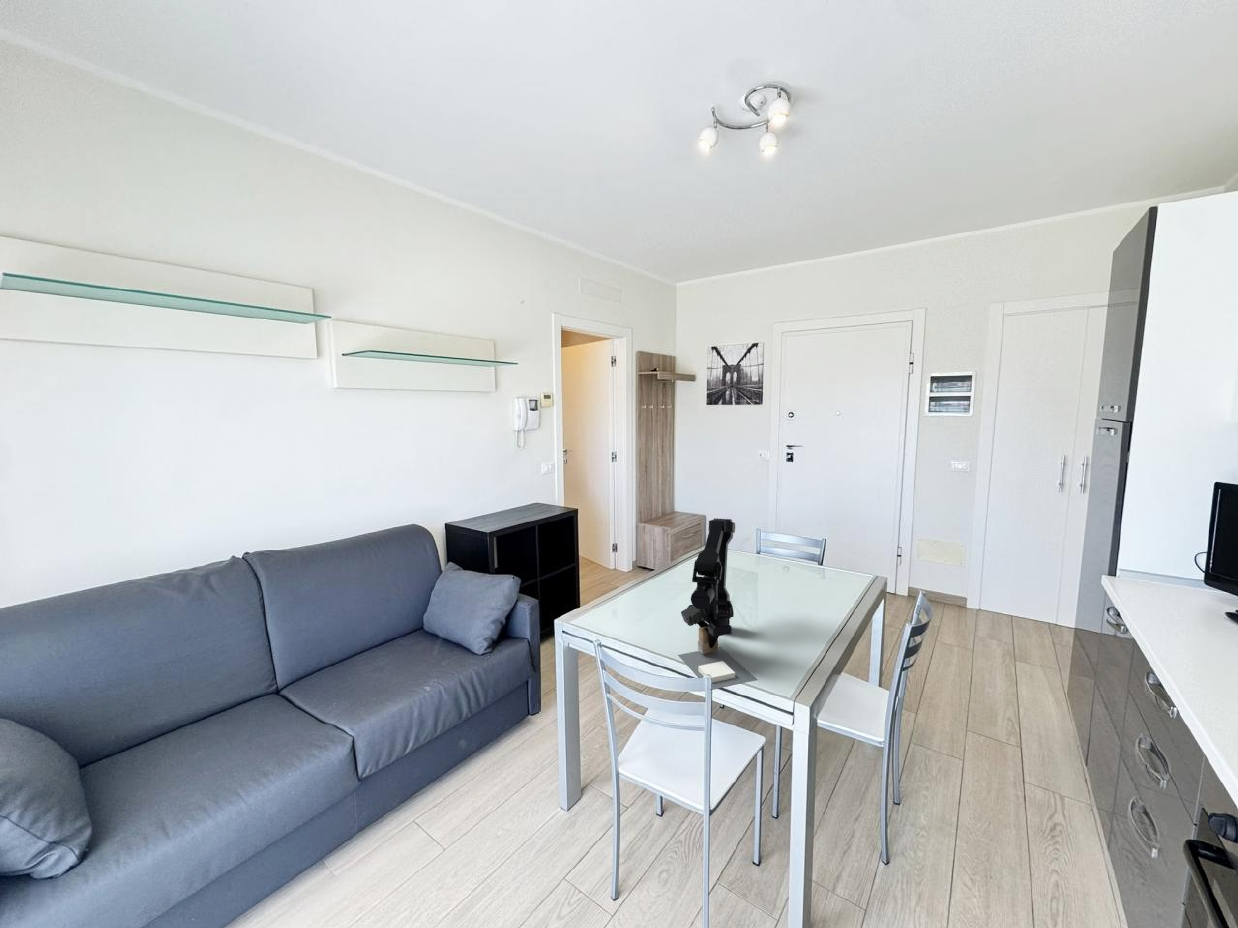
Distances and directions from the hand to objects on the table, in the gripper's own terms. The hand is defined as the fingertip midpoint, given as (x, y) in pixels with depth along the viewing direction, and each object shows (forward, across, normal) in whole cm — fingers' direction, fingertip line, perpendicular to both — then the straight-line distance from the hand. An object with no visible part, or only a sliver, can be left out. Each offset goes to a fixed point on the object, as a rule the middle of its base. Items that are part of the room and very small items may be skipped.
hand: (708, 645), depth 155 cm
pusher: (+2, 0, 0) cm, 2 cm away
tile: (+2, +12, 0) cm, 12 cm away
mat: (+3, +8, -2) cm, 9 cm away
